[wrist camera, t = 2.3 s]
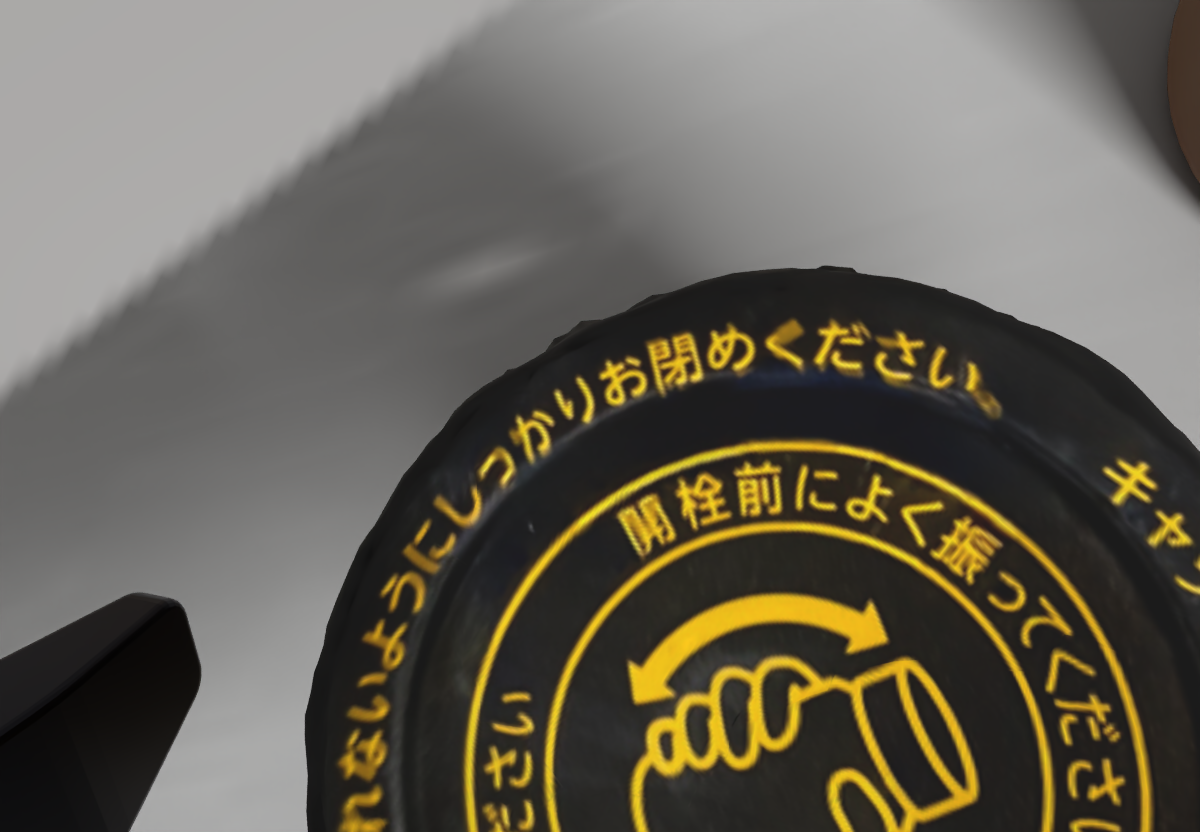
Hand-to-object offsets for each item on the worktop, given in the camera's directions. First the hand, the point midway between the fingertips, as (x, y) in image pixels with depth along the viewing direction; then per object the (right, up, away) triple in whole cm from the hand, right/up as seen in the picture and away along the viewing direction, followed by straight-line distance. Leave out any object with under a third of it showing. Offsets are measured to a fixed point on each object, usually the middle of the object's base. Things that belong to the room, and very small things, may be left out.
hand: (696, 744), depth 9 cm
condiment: (+2, -1, +8) cm, 9 cm away
